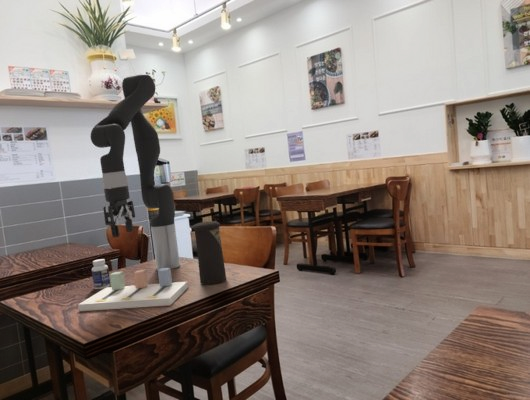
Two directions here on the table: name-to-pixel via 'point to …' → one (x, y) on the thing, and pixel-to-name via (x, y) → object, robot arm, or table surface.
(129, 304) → the panel
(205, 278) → the container
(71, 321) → the table surface
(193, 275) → the table surface
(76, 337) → the table surface
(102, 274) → the pill bottle
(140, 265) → the table surface
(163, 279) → the slate lever
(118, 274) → the sage lever
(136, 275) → the terracotta lever
